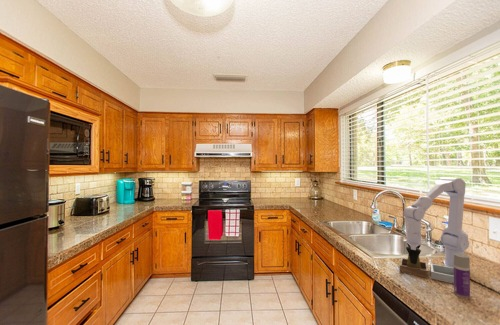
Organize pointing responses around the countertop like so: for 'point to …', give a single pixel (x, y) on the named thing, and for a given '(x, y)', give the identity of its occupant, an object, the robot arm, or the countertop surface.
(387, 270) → the countertop surface
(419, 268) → the olive rounded piece
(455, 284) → the container
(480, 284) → the countertop surface
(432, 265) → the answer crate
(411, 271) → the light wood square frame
